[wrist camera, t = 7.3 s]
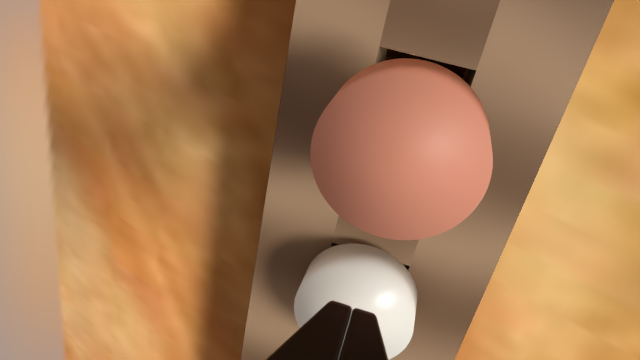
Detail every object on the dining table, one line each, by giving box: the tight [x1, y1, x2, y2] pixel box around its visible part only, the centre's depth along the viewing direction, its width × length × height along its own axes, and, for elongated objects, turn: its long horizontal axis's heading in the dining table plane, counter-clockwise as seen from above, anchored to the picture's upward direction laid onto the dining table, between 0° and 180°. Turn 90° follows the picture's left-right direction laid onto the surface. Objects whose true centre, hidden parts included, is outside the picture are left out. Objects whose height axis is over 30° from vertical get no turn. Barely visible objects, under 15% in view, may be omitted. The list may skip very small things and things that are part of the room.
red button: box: [310, 58, 493, 240], centre depth 15 cm, size 5×5×6 cm
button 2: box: [294, 243, 417, 360], centre depth 22 cm, size 5×5×6 cm
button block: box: [241, 0, 614, 360], centre depth 23 cm, size 25×9×4 cm, turn 169°
